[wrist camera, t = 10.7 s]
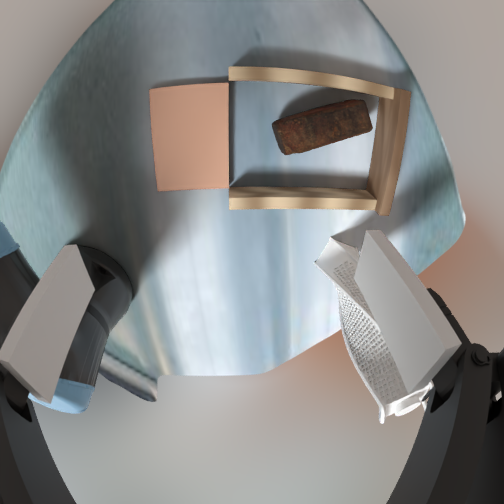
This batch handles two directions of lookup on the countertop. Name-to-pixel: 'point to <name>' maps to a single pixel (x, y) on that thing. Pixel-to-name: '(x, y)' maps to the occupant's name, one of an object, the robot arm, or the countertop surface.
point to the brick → (321, 126)
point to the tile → (190, 136)
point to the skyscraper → (366, 335)
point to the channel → (383, 156)
